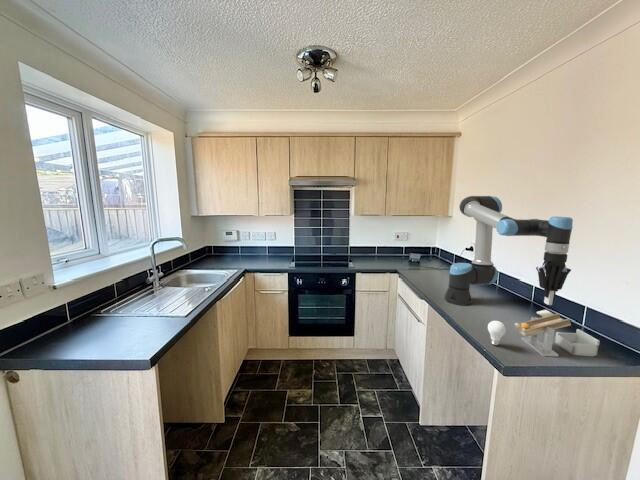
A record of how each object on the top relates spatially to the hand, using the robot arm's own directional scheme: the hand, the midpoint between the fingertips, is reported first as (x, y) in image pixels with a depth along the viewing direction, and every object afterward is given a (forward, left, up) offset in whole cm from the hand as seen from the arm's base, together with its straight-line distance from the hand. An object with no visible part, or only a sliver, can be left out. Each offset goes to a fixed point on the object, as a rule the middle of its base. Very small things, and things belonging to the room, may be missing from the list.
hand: (547, 303), depth 117 cm
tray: (+7, +8, -17) cm, 20 cm away
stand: (+7, -7, -17) cm, 20 cm away
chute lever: (+4, -6, -9) cm, 11 cm away
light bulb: (+7, -25, -17) cm, 31 cm away
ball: (+7, -13, -8) cm, 17 cm away
